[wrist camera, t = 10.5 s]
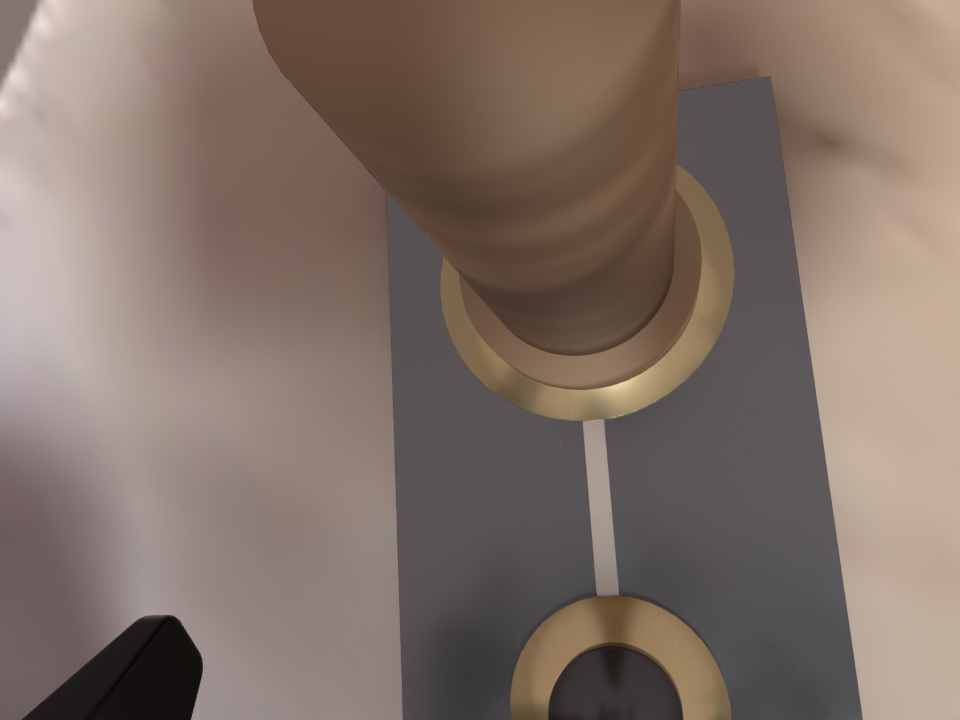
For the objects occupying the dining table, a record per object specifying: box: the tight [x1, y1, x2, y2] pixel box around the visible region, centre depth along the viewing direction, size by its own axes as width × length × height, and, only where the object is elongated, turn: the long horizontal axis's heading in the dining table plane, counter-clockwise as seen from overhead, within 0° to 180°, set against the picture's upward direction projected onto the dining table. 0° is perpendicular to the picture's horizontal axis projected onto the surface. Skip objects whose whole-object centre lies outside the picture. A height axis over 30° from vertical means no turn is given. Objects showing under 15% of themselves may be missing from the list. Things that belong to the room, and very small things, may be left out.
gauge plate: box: [387, 76, 863, 720], centre depth 18 cm, size 17×10×2 cm, turn 3°
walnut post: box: [253, 0, 702, 390], centre depth 13 cm, size 6×6×12 cm
